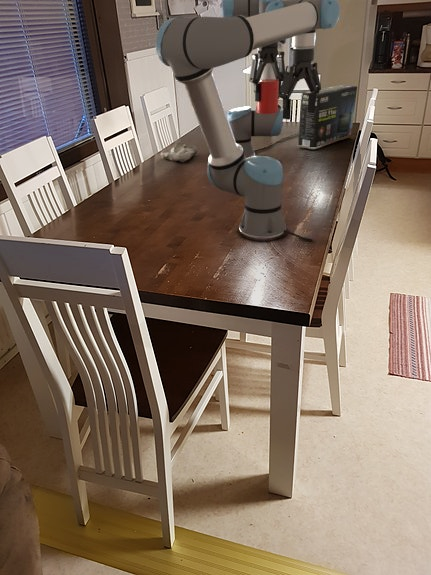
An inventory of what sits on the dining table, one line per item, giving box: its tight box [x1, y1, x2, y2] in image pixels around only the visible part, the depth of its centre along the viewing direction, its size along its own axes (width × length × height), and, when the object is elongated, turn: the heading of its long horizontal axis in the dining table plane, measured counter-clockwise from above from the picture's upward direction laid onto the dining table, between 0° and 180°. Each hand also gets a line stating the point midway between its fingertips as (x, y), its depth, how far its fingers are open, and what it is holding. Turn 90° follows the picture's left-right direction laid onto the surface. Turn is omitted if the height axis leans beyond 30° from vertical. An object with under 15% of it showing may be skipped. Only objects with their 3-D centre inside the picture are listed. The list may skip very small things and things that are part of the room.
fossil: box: [160, 142, 199, 163], centre depth 229 cm, size 18×11×15 cm
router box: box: [297, 84, 358, 151], centre depth 238 cm, size 36×11×27 cm, turn 134°
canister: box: [256, 79, 279, 114], centre depth 183 cm, size 8×8×12 cm
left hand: (267, 99), depth 184 cm, fingers closed on canister, 8 cm apart
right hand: (299, 115), depth 161 cm, fingers open, 13 cm apart
